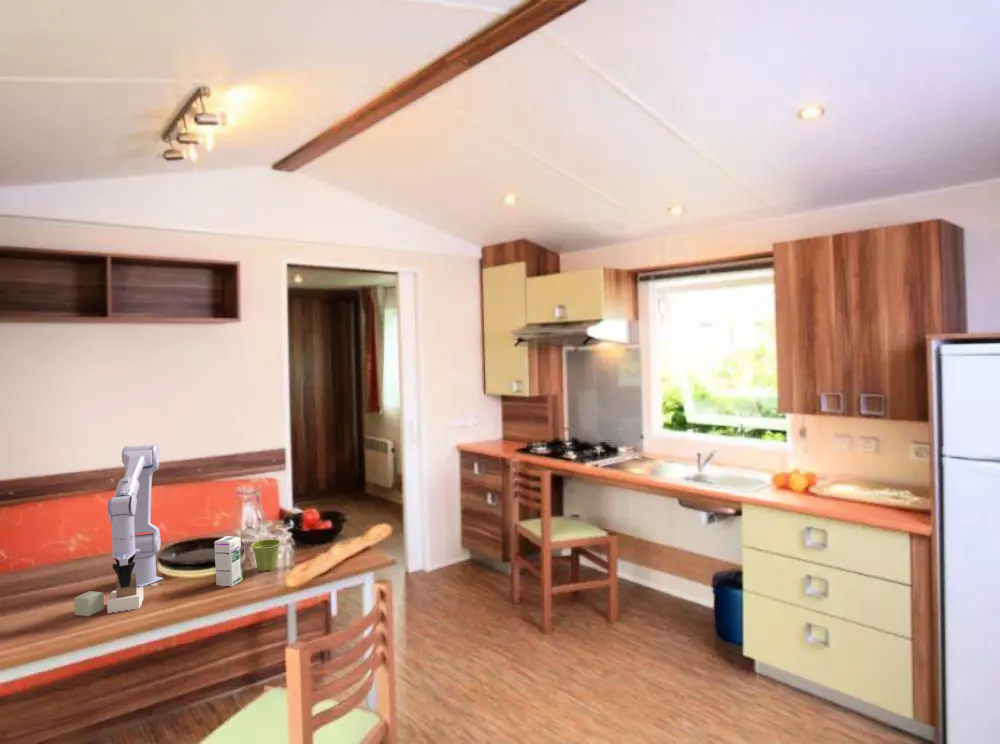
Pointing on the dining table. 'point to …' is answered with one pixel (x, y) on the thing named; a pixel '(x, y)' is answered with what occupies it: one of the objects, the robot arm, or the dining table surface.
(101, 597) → the sage green block
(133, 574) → the walnut block
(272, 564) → the plant pot
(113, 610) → the base block
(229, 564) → the syrup box
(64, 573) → the dining table surface
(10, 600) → the dining table surface
